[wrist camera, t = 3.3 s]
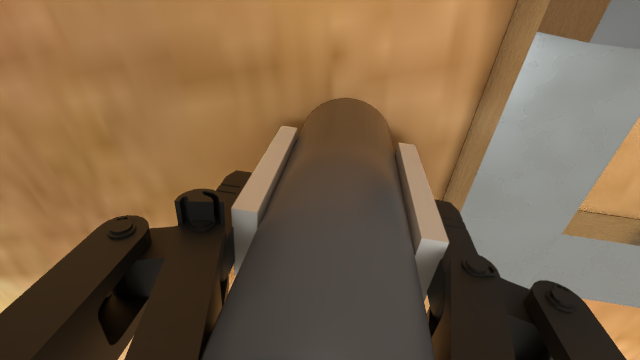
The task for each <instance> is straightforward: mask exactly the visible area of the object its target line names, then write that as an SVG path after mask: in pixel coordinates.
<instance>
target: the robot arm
mask: <svg viewBox="0 0 640 360" xmlns="http://www.w3.org/2000/svg"><path fill="white" fill-rule="evenodd" d="M297 129H298V128H295V127H288V126H281V127H280V129H279V130H278V132H277V134H276V135H275V137H274V139H273V140H272V142H271V144H270V145H269V147H268V149H267V150H266V152H265V153H264V155H263V157H262V158H261V160H260V162H259V163H258V165H257V167H256V168H255V170H254V172H253V173H250V172H243V171H237V170H236V171H235V172H233V173H231V174H230V175H228V176H226V178H225V179H224V180H223V182H222V183H221V185H220V186H219V187H218V188H217V190H216V191H214V190H211V189H194V190H191V191H187V192H185V193H183V194H181V195H180V196H178V198H177V199H176V200H175V207H176V213H177V219H178V226H174V227H165V228H150V229H149V224H148V222H147V221H146V220H145V219H144V218H142V217H139V216H131V215H127V216H121V217H116V218H114V219H111V220H109V221H107V222H105V223H103V224H102V225H100V226H99V227H98V228H97V229H96V230H94V231H93V232H92V233H91V234H90V235H89V236H88V237H87V238H85V239H84V240H83V241H82V242H81V243H80V244H79V245H78V246H76V247H75V248H74V249H73V250H72V251H71V252H70V253H68V254H67V255H66V256H65V257H64V258H63V259H62V260H60V261H59V262H58V263H57V264H56V265H55V266H54V267H53V268H51V269H50V270H49V271H48V272H47V273H46V274H45V275H44V276H42V277H41V278H40V279H39V280H38V281H37V282H36V283H34V284H33V285H32V286H31V287H30V288H29V289H28V290H27V291H25V292H24V293H23V294H22V295H21V296H20V297H19V298H17V299H16V300H15V301H14V302H13V303H12V304H11V305H10V306H8V307H7V308H6V309H5V310H4V311H3V312H2V313H0V360H118V358H119V357H120V355H121V354H122V352H123V351H124V349H125V348H126V346H127V345H128V343H129V342H130V340H131V339H132V337H133V336H134V337H133V339H132V342H131V344H130V347H129V349H128V352H127V354H126V357H125V359H124V360H200V358H201V355H202V352H203V350H204V348H205V345H206V343H207V341H208V338H209V336H210V334H211V332H212V329H213V327H214V325H215V323H216V320H217V318H218V316H219V314H220V311H221V309H222V307H223V305H224V302H225V300H226V298H227V296H228V289H229V273H230V271H231V269H232V267H233V264H234V275H237V273H238V271H239V269H240V267H241V264H242V262H243V260H244V258H245V255H246V253H247V251H248V249H249V246H250V244H251V242H252V240H253V237H254V235H255V233H256V231H257V229H258V226H259V224H260V222H261V220H262V217H263V215H264V213H265V211H266V208H267V206H268V204H269V202H270V199H271V197H272V195H273V193H274V190H275V188H276V186H277V184H278V181H279V179H280V177H281V175H282V172H283V170H284V168H285V166H286V164H287V161H288V159H289V157H290V155H291V152H292V150H293V148H294V146H295V143H296V141H297ZM395 159H396V165H397V170H398V175H399V180H400V185H401V190H402V195H403V200H404V205H405V210H406V215H407V220H408V225H409V230H410V235H411V240H412V245H413V250H414V255H415V260H416V265H417V270H418V275H419V280H420V285H421V290H422V295H423V300H425V298H426V296H427V295H428V299H429V304H430V307H429V309H428V312H427V314H426V315H427V320H428V325H429V330H430V335H431V340H432V345H433V350H434V355H435V360H626V358H625V357H624V356H623V354H622V353H621V352H620V350H619V349H618V347H617V346H616V345H615V343H614V342H613V341H612V339H611V338H610V336H609V335H608V334H607V332H606V331H605V329H604V328H603V327H602V325H601V324H600V323H599V321H598V320H597V318H596V317H595V316H594V314H593V313H592V312H591V310H590V309H589V307H588V306H587V305H586V303H585V302H584V301H583V300H582V299H581V298H580V297H579V296H578V295H576V294H575V293H574V292H572V291H571V290H570V289H568V288H566V287H564V286H562V285H560V284H558V283H555V282H551V281H548V280H539V281H537V282H535V283H534V284H533V285H532V287H531V288H530V289H528V288H525V287H523V286H520V285H518V284H515V283H512V282H510V281H507V280H505V279H503V278H501V277H500V274H499V272H498V270H497V268H496V267H495V266H494V265H493V264H492V263H491V262H490V261H489V260H487V259H486V258H484V257H483V256H480V255H478V253H477V250H476V248H475V246H474V244H473V241H472V239H471V237H470V235H469V232H468V230H467V229H466V226H465V223H464V222H463V219H462V217H461V214H460V212H459V210H458V209H457V208H456V207H455V206H454V205H452V204H451V203H450V202H447V201H441V200H434V197H433V195H432V192H431V189H430V186H429V183H428V180H427V177H426V175H425V172H424V169H423V166H422V163H421V160H420V157H419V155H418V152H417V149H416V146H415V145H412V144H406V143H399V142H398V146H397V150H396V154H395Z"/></svg>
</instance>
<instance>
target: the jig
mask: <svg viewBox="0 0 640 360" xmlns="http://www.w3.org/2000/svg"><path fill="white" fill-rule="evenodd" d="M639 116H640V0H518V2H517V5H516V8H515V10H514V13H513V16H512V18H511V21H510V23H509V26H508V29H507V31H506V34H505V37H504V39H503V42H502V45H501V47H500V50H499V53H498V55H497V58H496V61H495V63H494V66H493V69H492V71H491V74H490V76H489V79H488V82H487V84H486V87H485V90H484V92H483V95H482V98H481V100H480V103H479V106H478V108H477V111H476V114H475V116H474V119H473V121H472V124H471V127H470V129H469V132H468V135H467V137H466V140H465V143H464V145H463V148H462V151H461V153H460V156H459V159H458V161H457V164H456V166H455V169H454V172H453V174H452V177H451V180H450V182H449V185H448V188H447V190H446V193H445V196H444V198H443V201H447V202H450V203H451V204H452V205H454V206H455V207H456V208H457V209H458V210H459V212H460V214H461V217H462V219H463V222H464V223H465V226H466V229H467V230H468V232H469V235H470V237H471V239H472V241H473V244H474V246H475V248H476V250H477V253H478V255H480V256H483V257H484V258H486V259H487V260H489V261H490V262H491V263H492V264H493V265H494V266H495V267H496V268H497V270H498V272H499V274H500V277H501V278H503V279H505V280H507V281H510V282H512V283H515V284H518V285H520V286H523V287H525V288H528V289H530V288H531V287H532V285H533V284H534V283H535V282H537V281H539V280H548V281H551V282H555V283H558V284H560V285H562V286H564V287H566V288H568V289H570V290H571V291H572V292H574V293H575V294H576V295H578V296H579V297H580V298H583V299H589V300H595V301H601V302H607V303H614V304H620V305H626V306H632V307H638V308H640V220H637V219H630V218H624V217H617V216H610V215H604V214H597V213H590V212H584V211H577V210H578V208H579V207H580V205H581V204H582V202H583V201H584V199H585V198H586V196H587V195H588V193H589V192H590V190H591V189H592V187H593V186H594V184H595V183H596V181H597V180H598V178H599V177H600V175H601V174H602V172H603V171H604V169H605V168H606V166H607V165H608V163H609V162H610V160H611V159H612V157H613V156H614V154H615V153H616V151H617V150H618V148H619V147H620V145H621V144H622V142H623V141H624V139H625V138H626V136H627V135H628V133H629V132H630V130H631V129H632V127H633V126H634V124H635V122H636V121H637V119H638V118H639Z"/></svg>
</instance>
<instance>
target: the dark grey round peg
mask: <svg viewBox="0 0 640 360" xmlns="http://www.w3.org/2000/svg"><path fill="white" fill-rule="evenodd" d="M200 360H435V355H434V350H433V345H432V340H431V335H430V330H429V325H428V320H427V315H426V310H425V305H424V300H423V295H422V290H421V285H420V280H419V275H418V270H417V265H416V260H415V255H414V250H413V245H412V240H411V235H410V230H409V225H408V220H407V215H406V210H405V205H404V200H403V195H402V190H401V185H400V180H399V175H398V170H397V165H396V159H395V154H394V149H393V144H392V139H391V134H390V130H389V127H388V125H387V122H386V121H385V119H384V117H383V116H382V115H381V114H380V113H379V112H378V111H377V110H376V109H375V108H374V107H372V106H371V105H369V104H367V103H365V102H363V101H360V100H356V99H349V98H342V99H335V100H331V101H328V102H326V103H324V104H322V105H320V106H319V107H317V108H316V109H315V110H314V111H313V112H312V113H311V114H310V115H309V116H308V118H307V119H306V121H305V123H304V125H303V128H302V130H301V132H300V134H299V137H298V139H297V141H296V143H295V146H294V148H293V150H292V152H291V155H290V157H289V159H288V161H287V164H286V166H285V168H284V170H283V172H282V175H281V177H280V179H279V181H278V184H277V186H276V188H275V190H274V193H273V195H272V197H271V199H270V202H269V204H268V206H267V208H266V211H265V213H264V215H263V217H262V220H261V222H260V224H259V226H258V229H257V231H256V233H255V235H254V237H253V240H252V242H251V244H250V246H249V249H248V251H247V253H246V255H245V258H244V260H243V262H242V264H241V267H240V269H239V271H238V273H237V276H236V278H235V280H234V282H233V284H232V287H231V289H230V291H229V293H228V296H227V298H226V300H225V302H224V305H223V307H222V309H221V311H220V314H219V316H218V318H217V320H216V323H215V325H214V327H213V329H212V332H211V334H210V336H209V338H208V341H207V343H206V345H205V348H204V350H203V352H202V355H201V358H200Z"/></svg>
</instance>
